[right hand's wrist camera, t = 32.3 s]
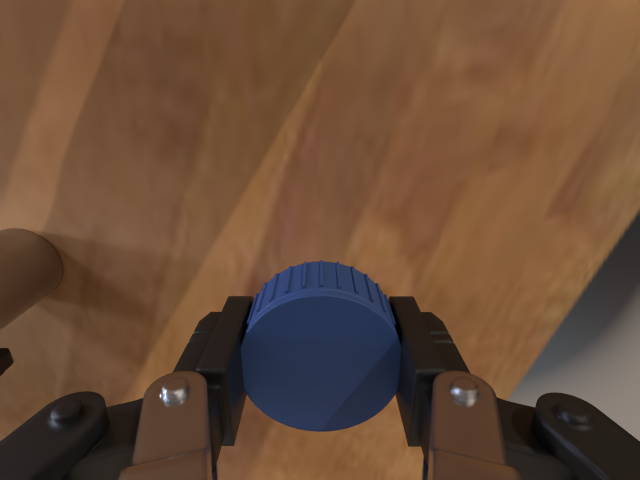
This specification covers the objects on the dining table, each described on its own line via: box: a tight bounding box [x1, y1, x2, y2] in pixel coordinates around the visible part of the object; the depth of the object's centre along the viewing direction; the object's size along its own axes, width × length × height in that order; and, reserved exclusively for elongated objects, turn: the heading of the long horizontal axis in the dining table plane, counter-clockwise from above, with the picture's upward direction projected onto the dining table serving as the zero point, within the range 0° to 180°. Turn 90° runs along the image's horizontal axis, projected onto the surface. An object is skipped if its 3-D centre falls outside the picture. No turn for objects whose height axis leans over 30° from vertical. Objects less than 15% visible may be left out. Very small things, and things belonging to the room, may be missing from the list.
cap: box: [241, 260, 402, 432], centre depth 11 cm, size 4×4×2 cm
